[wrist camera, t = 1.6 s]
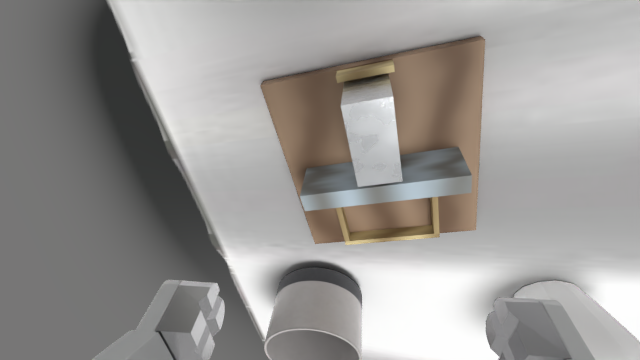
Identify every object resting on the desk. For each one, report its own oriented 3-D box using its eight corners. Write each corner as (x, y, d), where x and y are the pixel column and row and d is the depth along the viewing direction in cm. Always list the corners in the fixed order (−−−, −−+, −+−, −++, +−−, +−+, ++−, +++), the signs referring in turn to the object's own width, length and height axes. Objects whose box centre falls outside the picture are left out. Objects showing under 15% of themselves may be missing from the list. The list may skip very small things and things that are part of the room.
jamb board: (480, 36, 28) (506, 56, 23) (473, 223, 40) (488, 262, 35) (263, 81, 32) (245, 106, 27) (316, 237, 44) (310, 274, 39)
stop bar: (388, 70, 29) (393, 96, 24) (396, 147, 34) (402, 181, 29) (344, 79, 30) (340, 105, 25) (358, 152, 34) (357, 187, 30)
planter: (264, 274, 51) (244, 340, 42) (334, 249, 46) (327, 319, 37) (309, 317, 56) (300, 383, 48) (376, 299, 51) (379, 369, 43)
